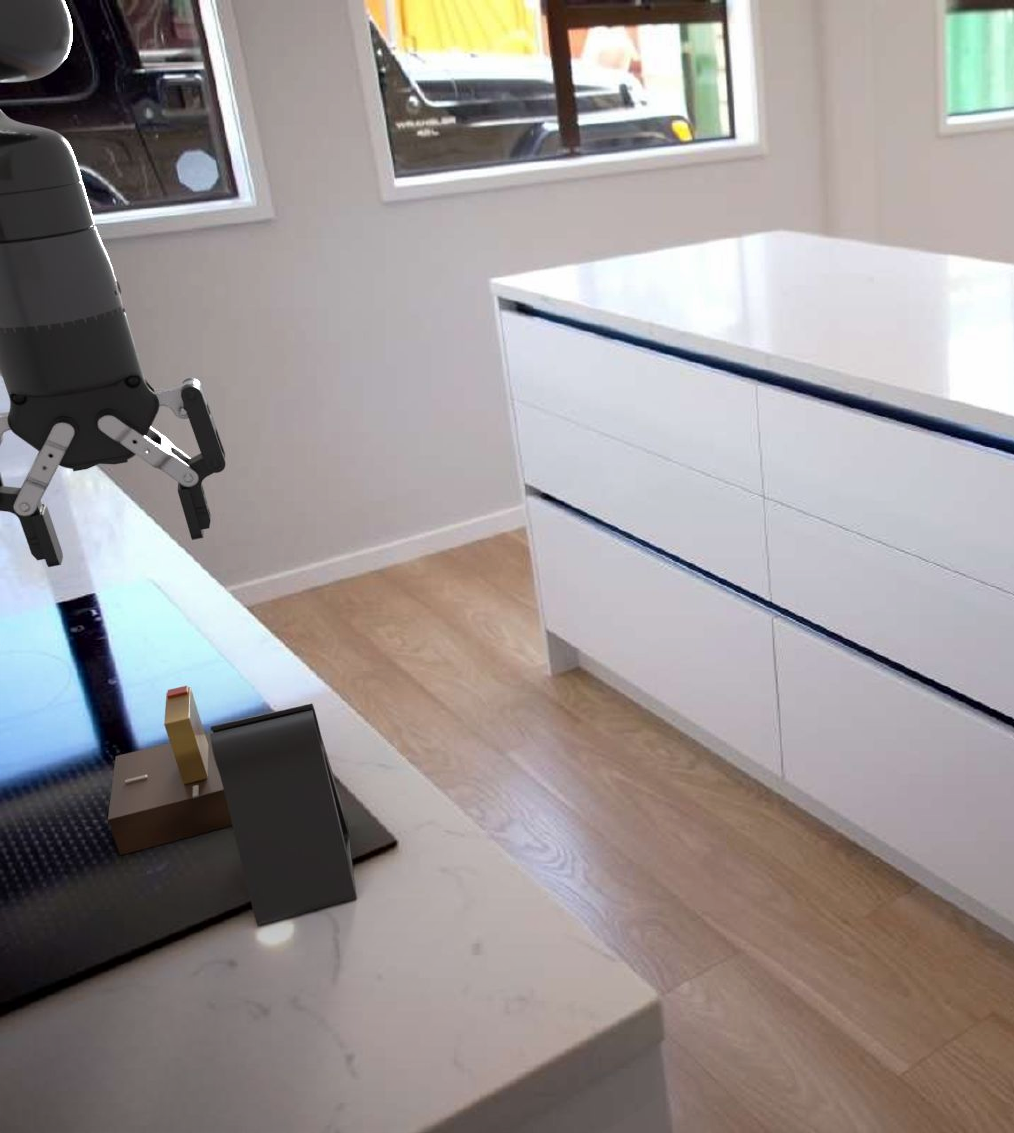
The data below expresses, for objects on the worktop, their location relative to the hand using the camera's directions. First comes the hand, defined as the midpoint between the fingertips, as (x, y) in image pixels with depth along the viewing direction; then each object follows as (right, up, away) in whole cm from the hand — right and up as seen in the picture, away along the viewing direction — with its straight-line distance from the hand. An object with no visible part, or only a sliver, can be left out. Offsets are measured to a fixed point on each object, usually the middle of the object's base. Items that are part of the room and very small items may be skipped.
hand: (128, 548), depth 86 cm
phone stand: (+12, -22, 0) cm, 25 cm away
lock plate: (+1, -18, +8) cm, 20 cm away
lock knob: (+1, -16, +7) cm, 17 cm away
